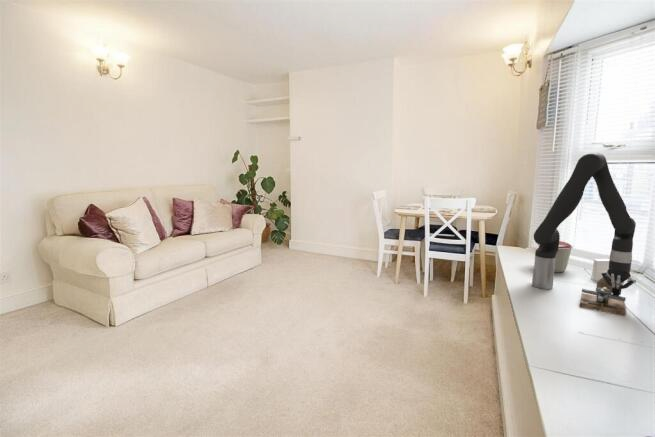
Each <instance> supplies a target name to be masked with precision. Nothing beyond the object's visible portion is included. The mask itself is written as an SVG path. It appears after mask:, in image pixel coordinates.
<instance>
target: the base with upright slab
mask: <svg viewBox="0 0 655 437" xmlns="http://www.w3.org/2000/svg"><path fill="white" fill-rule="evenodd" d="M609 259H610V258H594V259H593V264H592V270H591V280H592V281H595V282H596V283H597V282H598V281H599V280H600V279H601V278H602V277H603V276H602V273H606V272H607V271H608V269H609ZM610 278H611V277H610Z"/></svg>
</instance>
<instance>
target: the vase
mask: <svg viewBox="0 0 655 437" xmlns="http://www.w3.org/2000/svg"><path fill="white" fill-rule="evenodd" d="M598 287H600V288H603V287H606V288H607V289H609V290H611V294H612V286H611V285H608V284H607V282H606V281H605V279H604V277H602V278H601V279H600V280H599V281H598V282H597V281H596V288H598Z"/></svg>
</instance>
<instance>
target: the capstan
mask: <svg viewBox="0 0 655 437" xmlns="http://www.w3.org/2000/svg"><path fill="white" fill-rule="evenodd" d="M581 293H584V294H589V295H595V296H597V297H596V301H598V302H601V303H608V301H609V298H611V299H616V300H620V301H624V302H626V299H627V298H626V297H624V296H621V295H619V296H616V295H613V294H612V293H611V290H609V289H607V288H606V287H603V288H600V287H598V288H597V287H595V290H591V289H587V288H582V289H581Z"/></svg>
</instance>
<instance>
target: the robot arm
mask: <svg viewBox="0 0 655 437" xmlns="http://www.w3.org/2000/svg"><path fill="white" fill-rule="evenodd" d="M592 178H593V179H594V182H595V184H596V187H597V192H598V196H599V199H600V201H601V204H602V206H603V207H604V209H605V211H606V212H607V214H608V218H609V220H610V222H611V225H612V227H613V229H614V236H613V238H612V241H611V242H612V243H611V250H610V253H609V258H608V259H609V269H608V271H607V272H606V273H602V276H603V277H604V279H605V281H606V282H607V284H608V285H611V286H612V293H611V295H616V296H621V294H622V290H624V289H627V288H629V287H631V286H633V285H634V284H636V283H637V281H636V280H635V279H633V278H632V277H631V273H630V272H631V267H632V261H633V245H634V244H633V243H634V236H635V231H636V227H637V226H636V225H637V224H636V221H635V220H634V218H632V217H631V216H630V214H629V212H628V210H627V205H626V203H625V202H624V199H623V197H622V196H621V194H620V192H619V191H618V188H617V187H616V183H615V182H614V179H613V177H612V175H611V173H610V169H609V165H608V161H607V158H606V156H605V155H604V154H602V153H600V152H590V153H586V154H583V155H582V156H581V157H579V159H578V160H577V163H576V164H575V166H574V169H573V171H572V174H571V176H570V177H569V179H568V181H567V182H566V183H565V185H564V186H563V188H562V189H561V191H560V192H559V194H558V195H557V197H556V199H555V200H554V202H553V204H552V205H551V208H550V209H549V211H548V213H547V214H546V216H545V218H544V219H543V221H542V222H541V224H539V226H538V227H537V228H536V230H535V231H534V233H533V240H534V242H535V243H536V244H537V245H538V244H539V245H540V246H539V245H538V247H537V249H535V252H534V253H535V254H534V263H533V264H534V266H533V271H532V279H531V280H532V283H531V286H532V287H535V288H537V289H542V290H551V289H553V287H554V280H555V279H554V278H555V277H554V276H555V272H554V268H555V258H556V253H557V252H558V247H559V241H561V240H560V239H561V238H560V237H561V236H560V231H559V230H558V229H557V228H558V227H559V226H560V225H561V224H562V223H563V222H564V221H565V220H566V219H567V218H568V217H570V216H571V215H572V214H573V213H574V211H575V210H576V208H578V206H579V204H580V202H581V200H582V199H583V196H584V193H585V189H586V186H587V184H588V183H589V181H591V179H592ZM610 277H611V278H610ZM625 282H626V283H625Z"/></svg>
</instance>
